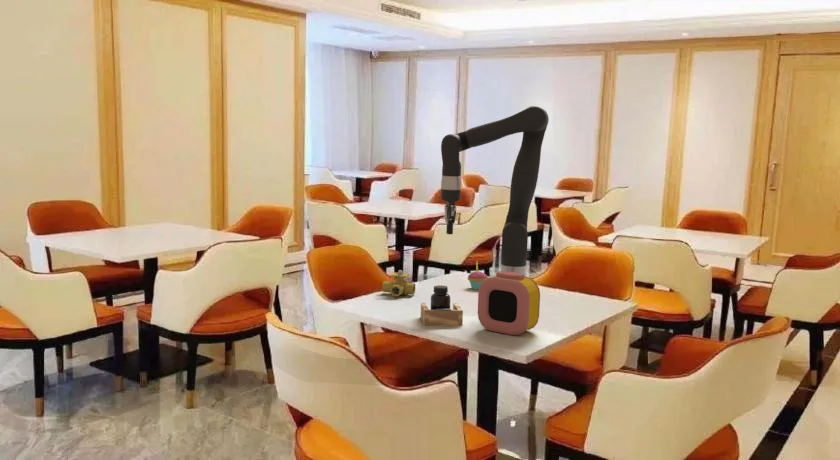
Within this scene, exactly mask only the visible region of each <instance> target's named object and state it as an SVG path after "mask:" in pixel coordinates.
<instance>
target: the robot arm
mask: <svg viewBox="0 0 840 460" xmlns="http://www.w3.org/2000/svg"><path fill="white" fill-rule="evenodd" d="M548 124H549V114H548V112H547V111H546V110H545V109H544V108H543V107H541V106H539V105H531V106H529V107H527V108H525V109H523V110H521V111H518V112H517V113H514V114H513V115H510V116H508V117H504V118H502V119H499V120H496V121H495V120H494V121H491V122H488V123H484V124H480V125H478V126H474V127H471V128H468V129H467V130H464V131H461V132H458V133H457V132H456V133H450V134H447V135H445V136H443V138H442V140H441V143H440V144H441V145H440V151H441V152H440V153H441V161H442V167H441V168H442V169H441V181H440V200H441V201H442V202H446V203H445V205H444V217H445V219H444V220H445V223H446V234H447V235H453V234H454V225H455V221H456V217H457V206H456V202H461V199H462V164H461V161H460V152H464V151H466V150H468V149H472V148H476V147H479V146H480V147H481V146H483V145H486V144H489V143H493V142H496V141H497V140H500V139H503V138H505V137H507V136H510V135H514V134H519V133H522V141H521V145H520V148H519V150H518V154H517V156H516V159H515V161H514V165H513V170H512V175H511V180H510V181H511V182H510V191H509V207H508V212H507V215H506V219H505V223H504V225H503V227H502V233H501V255H500V271H505V272H514V273H520V274H524V276H526V277H527V273H526V272H527V260H528V259H527V258H528V240H529V234H528V220H529V219H528V218H529V210H530V206H531V203H532V201H533V198H534V195H535V192H536V187H537V183H538V178H539V172H540V163H541V155H542V154H541V152H542V146H543V141H544V138H545V134H546V131H547V128H548V127H547V126H548Z"/></svg>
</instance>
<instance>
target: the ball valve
mask: <svg viewBox="0 0 840 460" xmlns="http://www.w3.org/2000/svg"><path fill="white" fill-rule="evenodd" d="M389 275H390V276H389V277H390V278H396V279H395V280H394V281H387V280H383V282H382V288H381V290H382V293H388V294H389V293H390V294H391V296H392V297H399V296H406V297H407V296H409V295H411V296H414V295H415V293H416V283H413V282H410V281H409V280H406V281H405V279H406V278H408V277H410V276H411V273H409V272H407V273H405V272H404V271H403V270H401V269H399V270H398V272H396V271H395V272H393V273H391V274H389Z"/></svg>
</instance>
